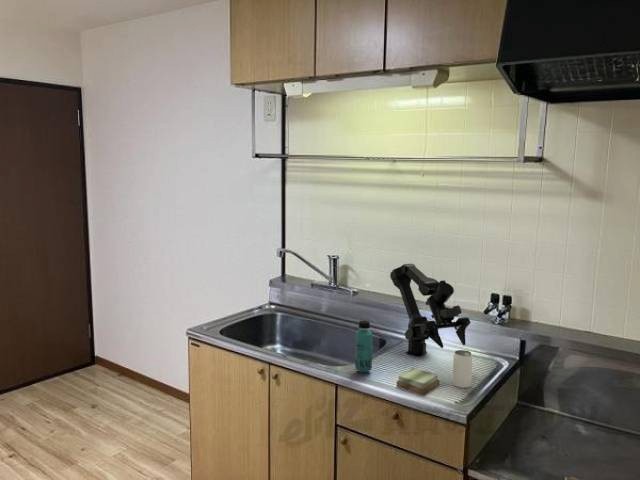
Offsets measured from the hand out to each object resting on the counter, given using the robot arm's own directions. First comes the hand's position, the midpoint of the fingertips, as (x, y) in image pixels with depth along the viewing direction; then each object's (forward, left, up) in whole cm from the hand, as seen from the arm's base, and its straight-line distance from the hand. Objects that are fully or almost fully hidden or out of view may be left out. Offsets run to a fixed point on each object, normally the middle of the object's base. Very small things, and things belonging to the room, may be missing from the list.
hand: (453, 346), depth 192 cm
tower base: (-6, -14, -12) cm, 20 cm away
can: (+5, -3, -12) cm, 14 cm away
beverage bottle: (-28, -17, -12) cm, 35 cm away
